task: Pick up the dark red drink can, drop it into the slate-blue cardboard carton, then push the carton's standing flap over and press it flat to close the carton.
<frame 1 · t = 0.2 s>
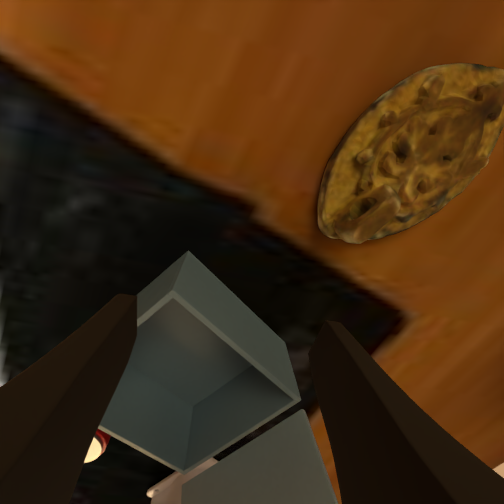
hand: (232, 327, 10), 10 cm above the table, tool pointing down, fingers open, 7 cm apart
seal: (399, 161, 19), on the table
can: (101, 397, 24), on the table
carton: (191, 339, 23), on the table
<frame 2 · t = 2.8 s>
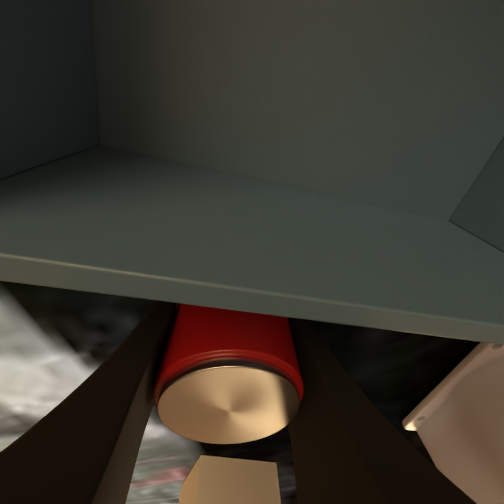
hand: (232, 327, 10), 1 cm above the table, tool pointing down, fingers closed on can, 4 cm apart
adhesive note: (227, 472, 21), on the table
can: (231, 302, 11), on the table, touching gripper
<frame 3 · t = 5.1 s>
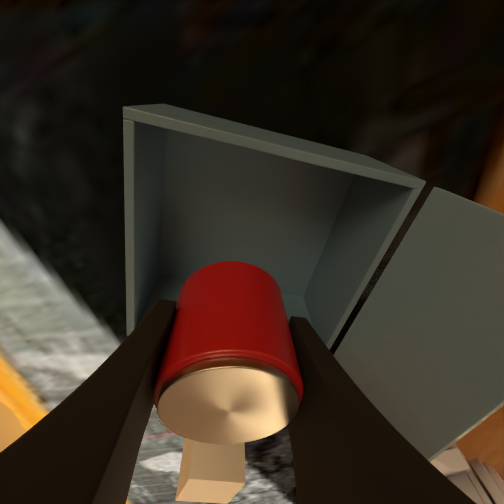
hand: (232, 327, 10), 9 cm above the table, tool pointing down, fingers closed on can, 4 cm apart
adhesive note: (213, 428, 33), on the table
carton flap: (414, 343, 11), point 10 cm above the table, hinge at 100.0°
can: (231, 302, 11), point 8 cm above the table, touching gripper
carton: (249, 221, 18), on the table
when the fingers open (4 cm above the table, at t = 7.2 s): can drops 3 cm, resting on carton.
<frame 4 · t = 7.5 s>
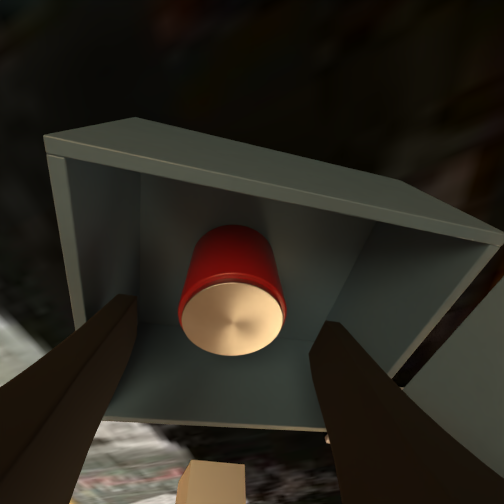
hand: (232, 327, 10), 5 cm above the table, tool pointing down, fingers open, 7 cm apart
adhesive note: (210, 471, 29), on the table
carton flap: (494, 474, 7), point 10 cm above the table, hinge at 100.0°
can: (233, 260, 14), resting on carton
carton: (250, 259, 14), on the table
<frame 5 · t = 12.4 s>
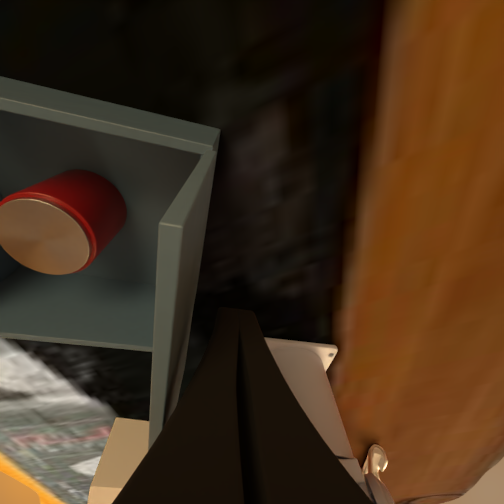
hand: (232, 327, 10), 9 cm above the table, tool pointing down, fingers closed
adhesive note: (139, 431, 31), on the table
tablet stand: (348, 457, 38), on the table
carton flap: (179, 336, 9), point 10 cm above the table, hinge at 89.0°, touching gripper
can: (89, 205, 16), resting on carton
carton: (108, 206, 16), on the table
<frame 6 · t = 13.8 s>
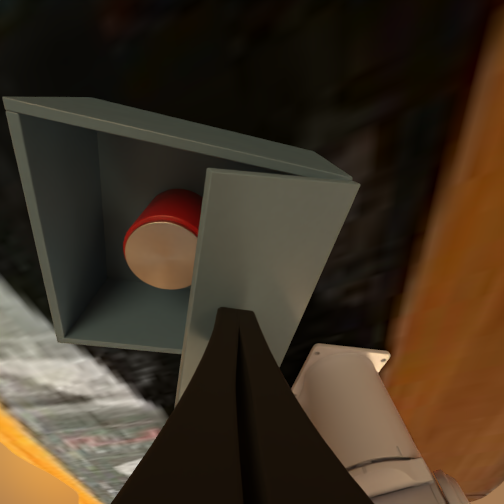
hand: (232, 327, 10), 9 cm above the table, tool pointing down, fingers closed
carton flap: (255, 311, 11), point 8 cm above the table, hinge at 26.9°
can: (182, 221, 17), resting on carton
carton: (197, 221, 17), on the table
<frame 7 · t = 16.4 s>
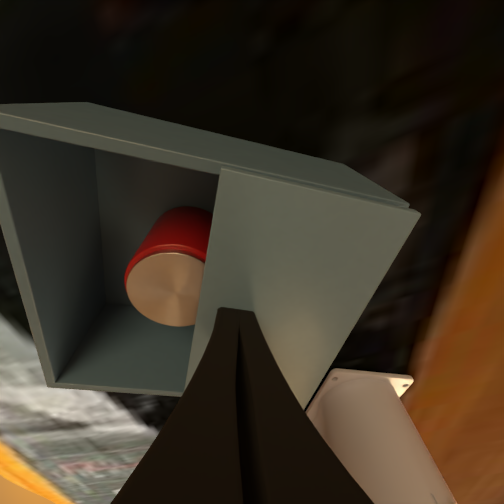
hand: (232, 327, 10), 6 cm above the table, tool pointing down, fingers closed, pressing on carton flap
carton flap: (271, 330, 10), point 6 cm above the table, hinge at -2.4°, touching gripper
can: (191, 242, 15), resting on carton
carton: (208, 241, 15), on the table
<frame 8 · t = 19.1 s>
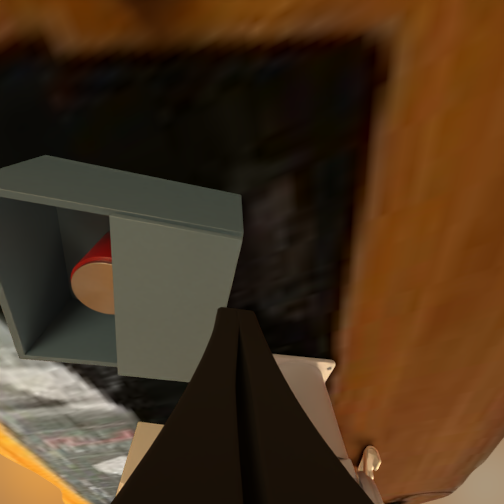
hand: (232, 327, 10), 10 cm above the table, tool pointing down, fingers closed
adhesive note: (158, 434, 34), on the table
tablet stand: (345, 457, 42), on the table
carton flap: (170, 316, 15), point 6 cm above the table, hinge at -1.3°
can: (132, 252, 19), resting on carton
carton: (147, 251, 20), on the table
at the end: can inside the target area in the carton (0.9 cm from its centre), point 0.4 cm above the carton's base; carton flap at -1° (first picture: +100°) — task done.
